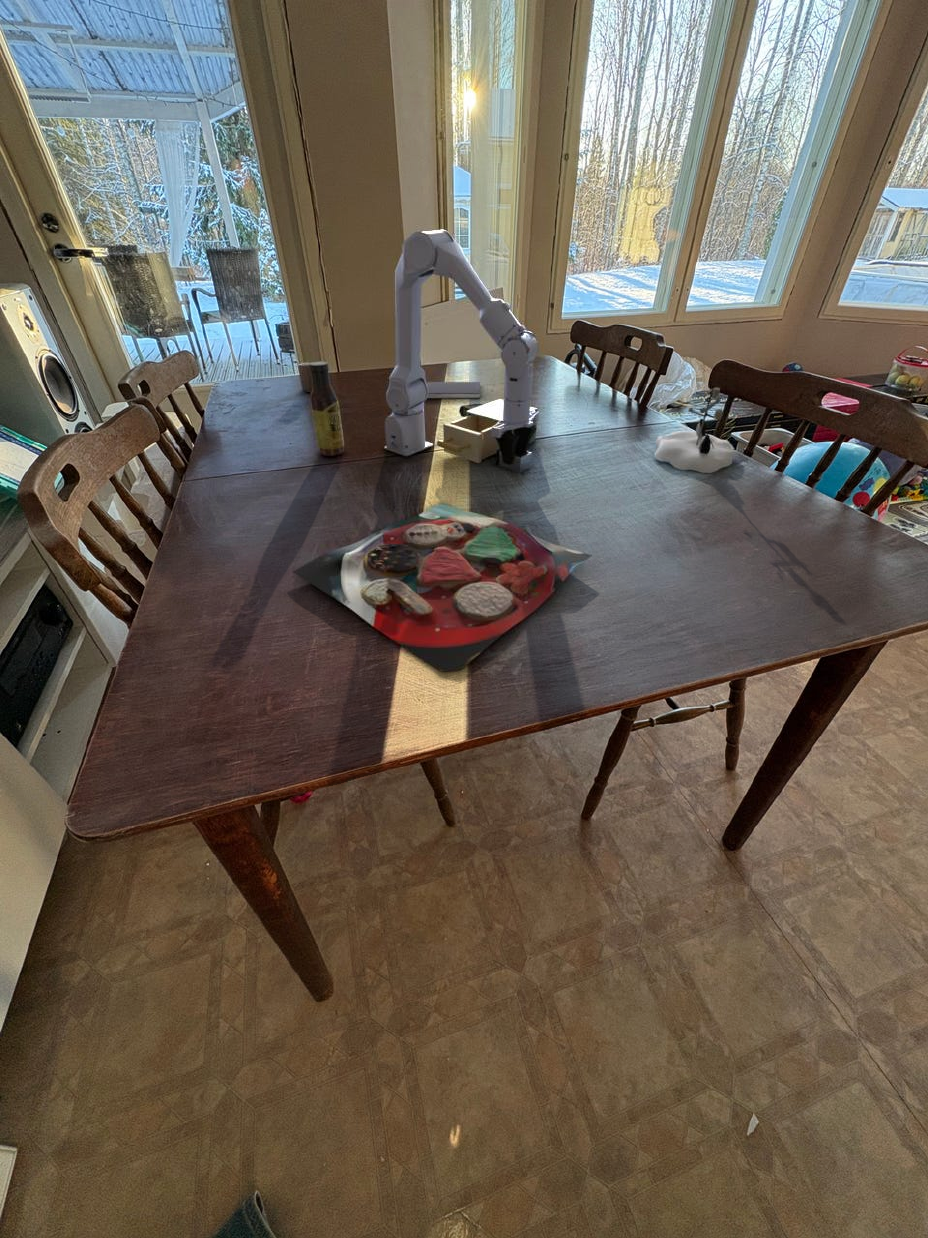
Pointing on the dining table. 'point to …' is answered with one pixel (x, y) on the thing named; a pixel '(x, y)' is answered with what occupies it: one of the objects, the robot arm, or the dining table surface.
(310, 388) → the wooden block
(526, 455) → the grey framed box
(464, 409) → the tape measure
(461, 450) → the drawer
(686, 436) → the figurine
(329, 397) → the sauce bottle
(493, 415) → the cabinet
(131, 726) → the dining table surface
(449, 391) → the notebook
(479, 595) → the platter
